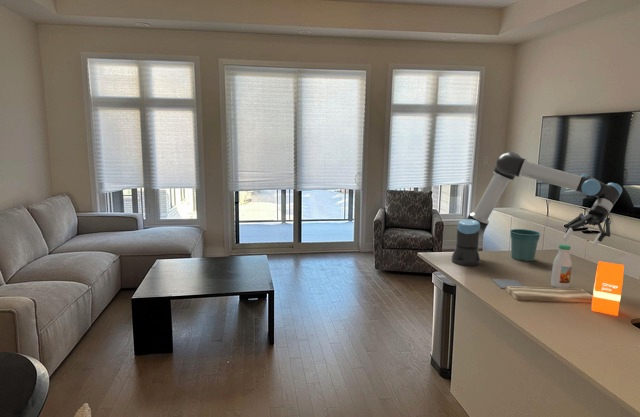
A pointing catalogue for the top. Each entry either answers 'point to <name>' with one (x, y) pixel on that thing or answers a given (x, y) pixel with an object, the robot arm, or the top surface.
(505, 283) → the plate
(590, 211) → the robot arm
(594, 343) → the top surface
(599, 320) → the top surface
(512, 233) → the flower pot
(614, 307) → the orange juice
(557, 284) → the milk bottle
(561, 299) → the oak board
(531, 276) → the top surface
